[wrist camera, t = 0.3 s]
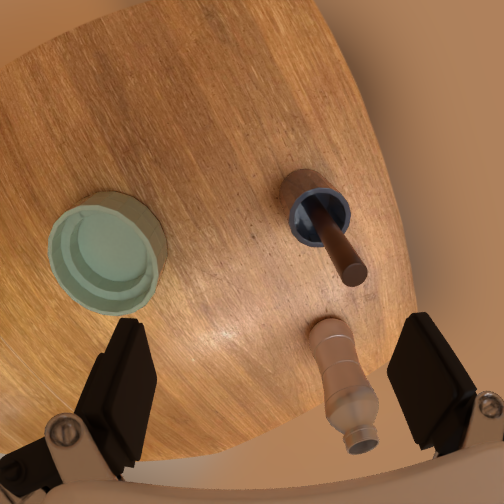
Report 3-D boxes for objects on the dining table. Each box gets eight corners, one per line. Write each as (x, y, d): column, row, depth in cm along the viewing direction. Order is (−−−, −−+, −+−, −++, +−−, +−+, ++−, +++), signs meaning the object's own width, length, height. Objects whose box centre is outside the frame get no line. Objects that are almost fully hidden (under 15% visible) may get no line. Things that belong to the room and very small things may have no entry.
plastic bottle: (316, 352, 47) (343, 465, 29) (298, 324, 44) (324, 447, 26) (354, 334, 45) (396, 444, 28) (339, 304, 43) (386, 423, 25)
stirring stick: (300, 190, 33) (344, 262, 19) (316, 191, 33) (370, 263, 19) (298, 206, 34) (339, 287, 20) (315, 207, 34) (364, 287, 20)
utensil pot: (281, 167, 34) (291, 185, 27) (331, 170, 34) (354, 190, 27) (277, 216, 37) (286, 246, 29) (325, 218, 37) (345, 248, 30)
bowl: (60, 192, 34) (37, 207, 29) (164, 189, 35) (152, 204, 30) (79, 288, 40) (63, 310, 35) (172, 293, 41) (164, 319, 36)
